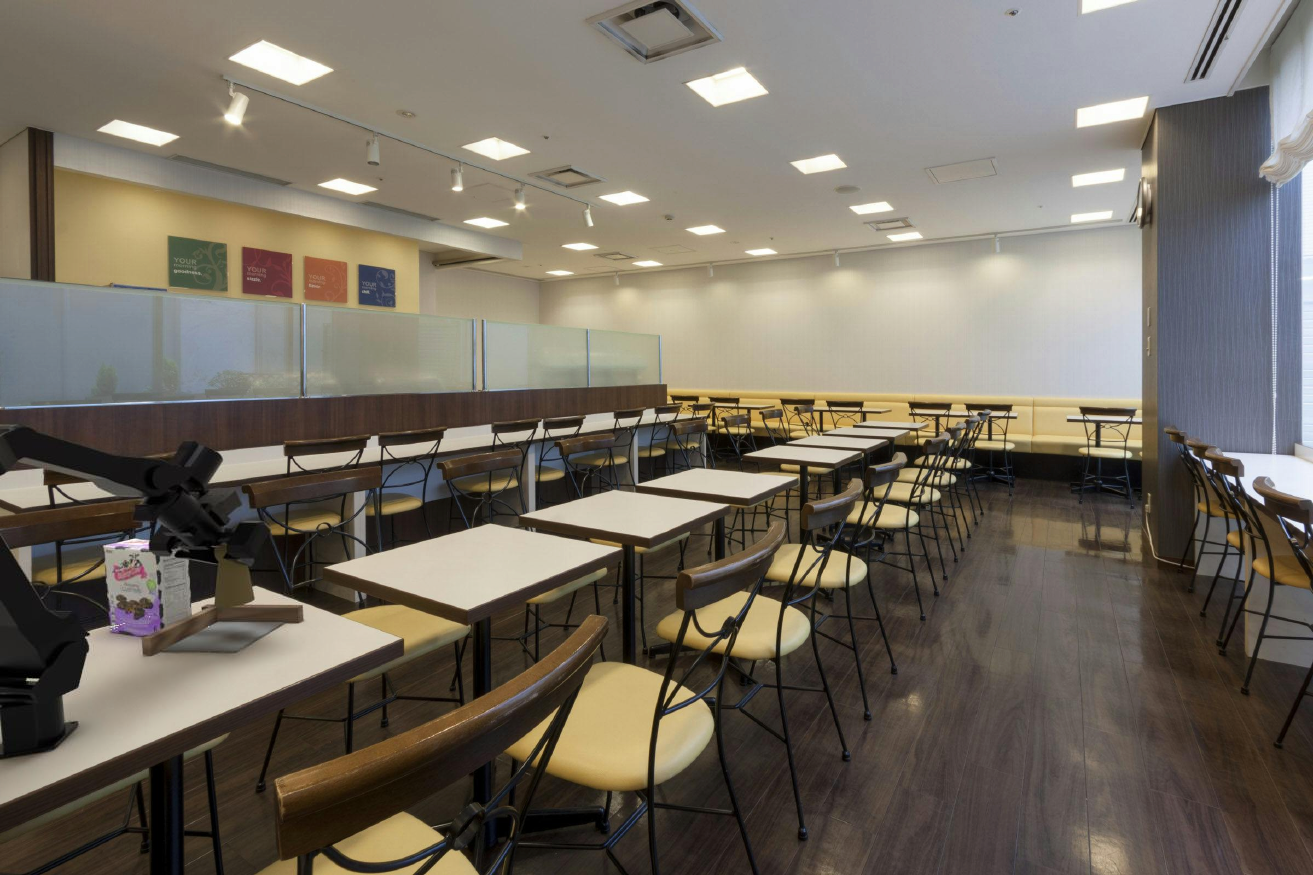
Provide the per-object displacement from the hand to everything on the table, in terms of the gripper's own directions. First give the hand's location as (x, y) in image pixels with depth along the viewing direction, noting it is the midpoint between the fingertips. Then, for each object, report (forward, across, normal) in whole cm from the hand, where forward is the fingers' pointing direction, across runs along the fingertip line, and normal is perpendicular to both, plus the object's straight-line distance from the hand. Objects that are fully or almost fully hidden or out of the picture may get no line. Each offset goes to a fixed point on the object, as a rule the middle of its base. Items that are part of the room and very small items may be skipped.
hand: (238, 563), depth 114 cm
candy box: (+10, +19, +9) cm, 23 cm away
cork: (+4, 0, +6) cm, 7 cm away
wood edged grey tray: (+9, +2, +10) cm, 14 cm away
